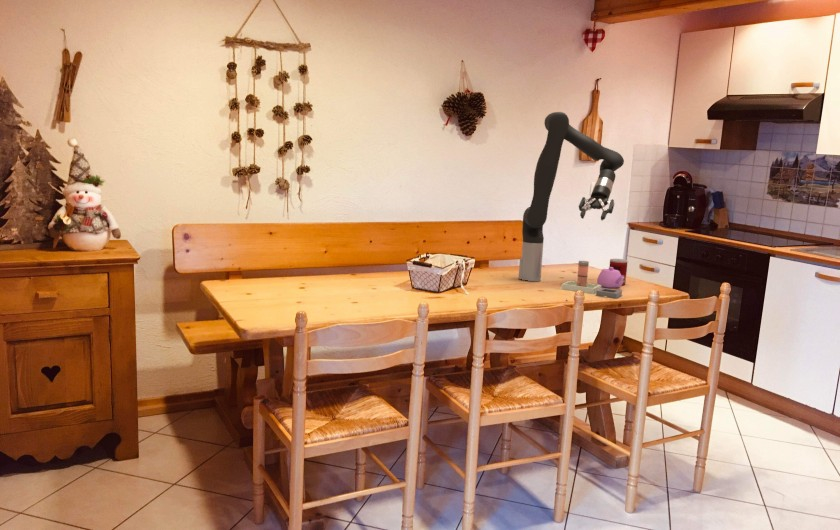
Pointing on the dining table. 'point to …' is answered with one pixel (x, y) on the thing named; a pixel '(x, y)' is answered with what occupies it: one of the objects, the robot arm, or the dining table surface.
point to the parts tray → (580, 287)
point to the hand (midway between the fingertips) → (591, 218)
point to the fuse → (582, 273)
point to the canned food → (619, 267)
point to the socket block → (609, 293)
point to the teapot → (610, 278)
